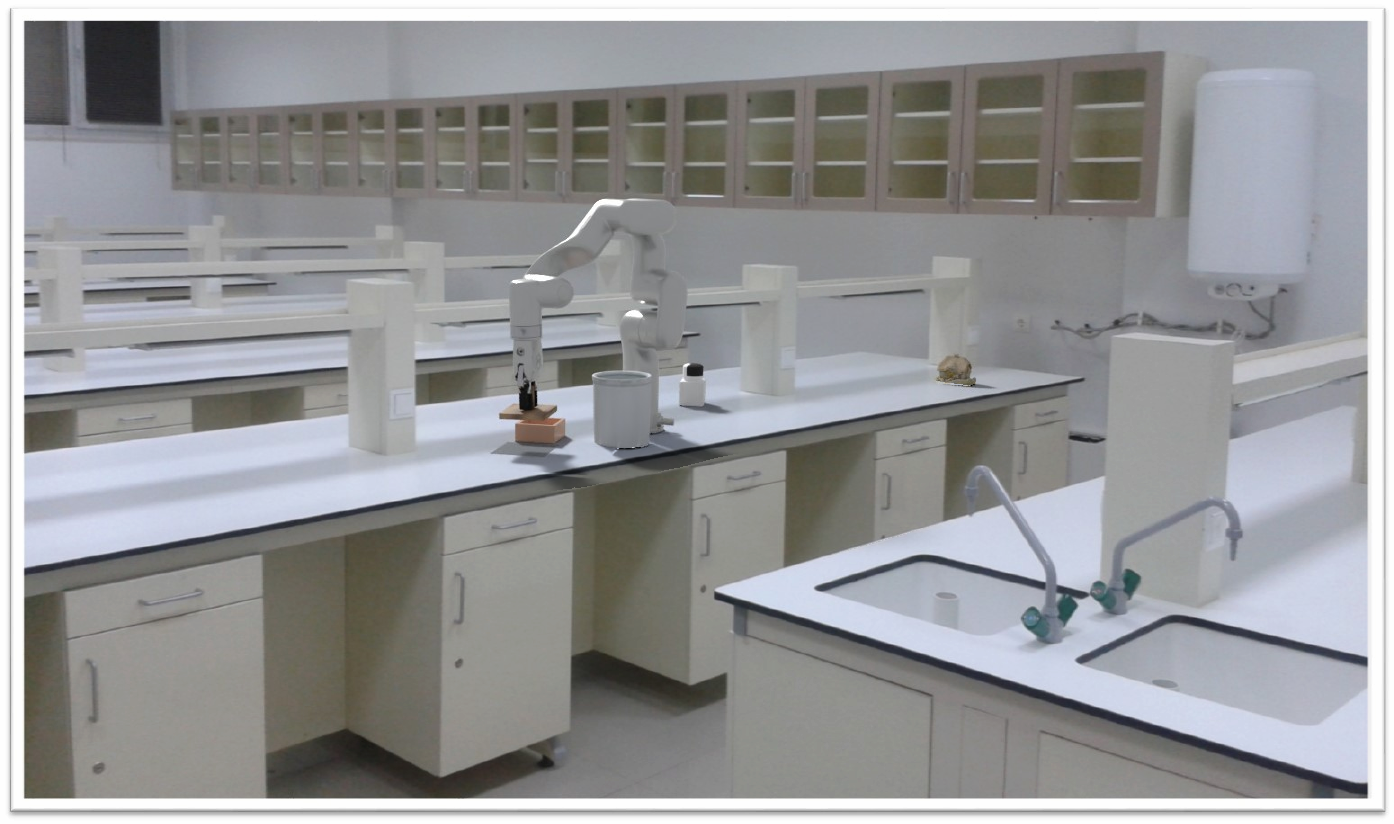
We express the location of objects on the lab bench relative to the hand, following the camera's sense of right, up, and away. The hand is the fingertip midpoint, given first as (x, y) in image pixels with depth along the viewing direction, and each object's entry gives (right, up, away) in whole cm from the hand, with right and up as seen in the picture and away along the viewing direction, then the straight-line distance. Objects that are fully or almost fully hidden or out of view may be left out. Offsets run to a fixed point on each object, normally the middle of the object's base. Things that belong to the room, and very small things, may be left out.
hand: (528, 407), depth 302 cm
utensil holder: (+21, -9, +13) cm, 27 cm away
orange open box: (+1, -8, +14) cm, 16 cm away
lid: (0, -2, 0) cm, 2 cm away
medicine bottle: (+39, +1, +69) cm, 79 cm away
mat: (-1, -11, +1) cm, 11 cm away
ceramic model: (+127, +8, +122) cm, 176 cm away
